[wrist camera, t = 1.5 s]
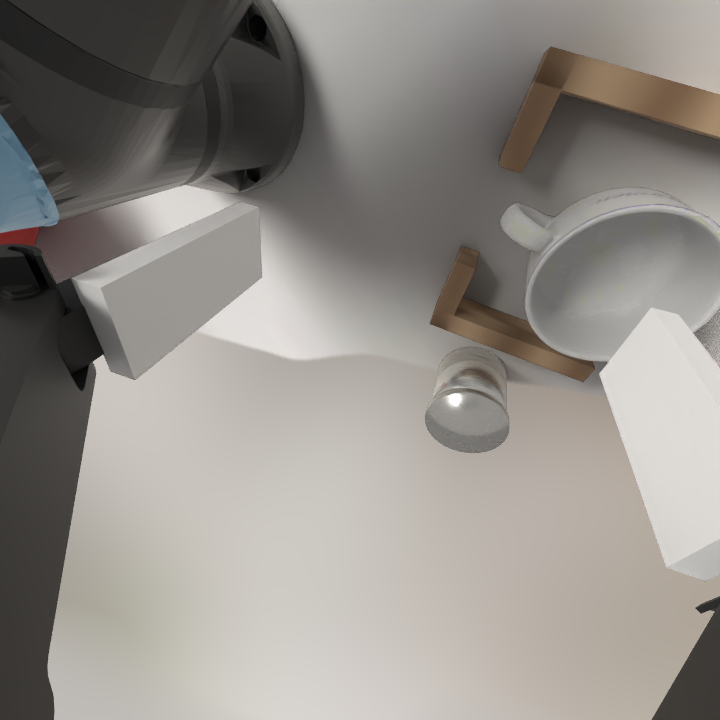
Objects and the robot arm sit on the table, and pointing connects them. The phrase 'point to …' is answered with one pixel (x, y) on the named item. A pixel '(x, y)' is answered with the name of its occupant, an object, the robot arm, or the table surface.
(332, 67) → the table surface
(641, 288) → the teacup
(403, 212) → the table surface
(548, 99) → the wooden u-shaped bracket
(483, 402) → the sugar tin
